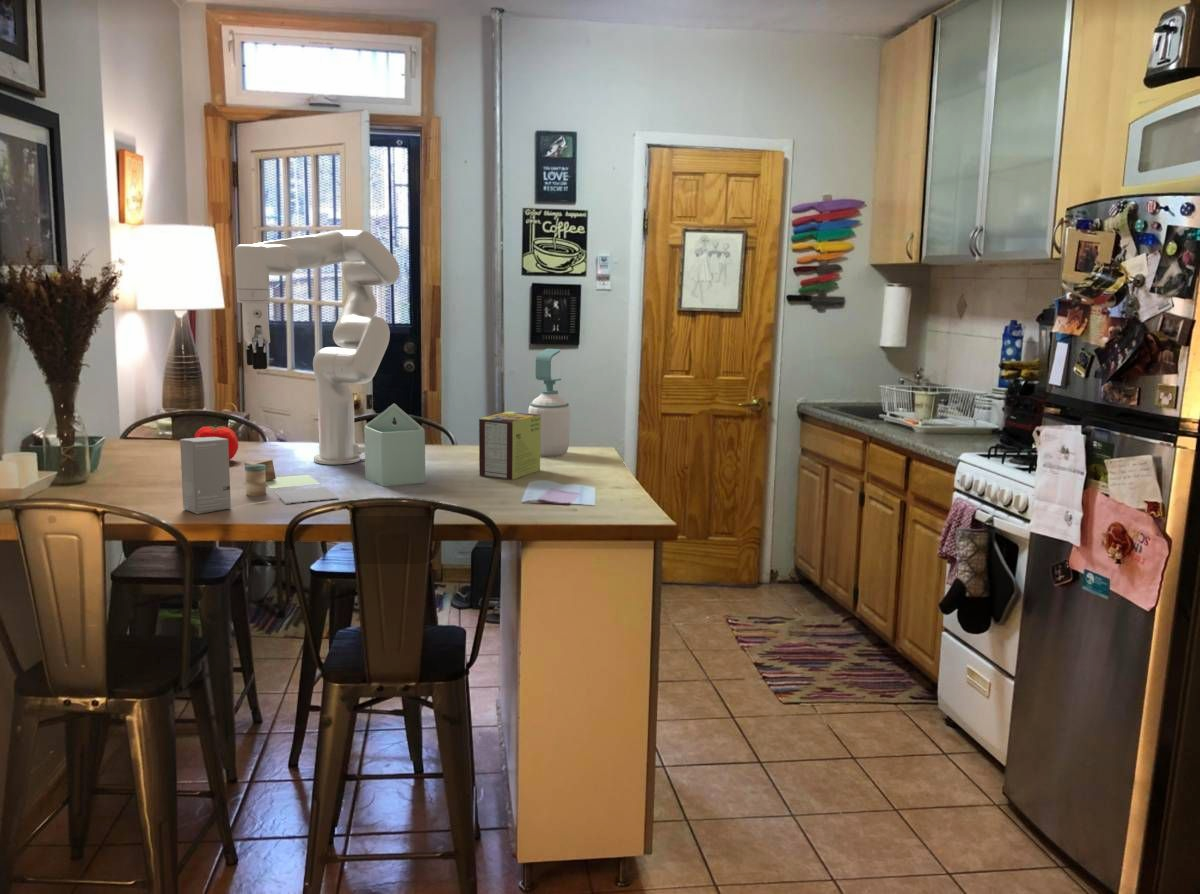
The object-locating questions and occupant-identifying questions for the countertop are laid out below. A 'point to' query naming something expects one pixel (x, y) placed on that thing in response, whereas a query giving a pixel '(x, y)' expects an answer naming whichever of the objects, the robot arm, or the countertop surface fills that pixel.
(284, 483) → the mat
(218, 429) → the tomato
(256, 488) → the green lidded jar
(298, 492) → the grey square tile
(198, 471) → the skincare box
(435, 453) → the countertop surface
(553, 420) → the soap bottle
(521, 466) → the protein box
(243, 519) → the countertop surface
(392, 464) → the planter
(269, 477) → the walnut block
